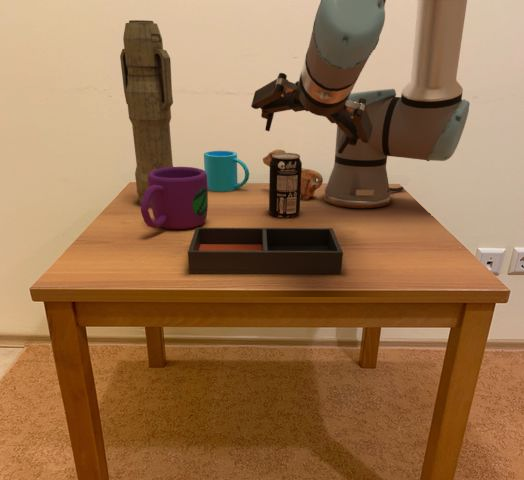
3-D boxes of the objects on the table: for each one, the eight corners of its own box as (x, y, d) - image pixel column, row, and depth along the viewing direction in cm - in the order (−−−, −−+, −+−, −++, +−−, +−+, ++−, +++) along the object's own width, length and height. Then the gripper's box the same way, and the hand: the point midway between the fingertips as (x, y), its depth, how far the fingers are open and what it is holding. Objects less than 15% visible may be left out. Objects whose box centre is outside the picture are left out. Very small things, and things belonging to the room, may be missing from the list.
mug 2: (199, 189, 128) (197, 154, 124) (216, 182, 134) (215, 149, 130) (241, 194, 124) (240, 159, 119) (256, 187, 130) (256, 154, 126)
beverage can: (281, 208, 114) (283, 151, 108) (305, 213, 110) (308, 155, 104) (262, 214, 109) (263, 155, 103) (287, 220, 106) (289, 159, 100)
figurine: (270, 187, 130) (271, 146, 125) (328, 196, 123) (331, 152, 118) (256, 193, 125) (256, 150, 120) (315, 203, 118) (318, 157, 113)
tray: (196, 247, 91) (195, 227, 90) (330, 247, 92) (332, 228, 90) (189, 273, 81) (187, 251, 79) (341, 274, 81) (343, 252, 79)
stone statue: (169, 210, 111) (154, 19, 94) (125, 203, 115) (102, 20, 98) (190, 200, 118) (179, 21, 101) (148, 195, 122) (130, 22, 105)
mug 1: (173, 212, 110) (169, 164, 105) (219, 219, 106) (217, 169, 101) (121, 235, 97) (113, 181, 91) (171, 244, 92) (166, 188, 87)
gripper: (233, 77, 70) (233, 134, 91) (404, 131, 72) (365, 175, 93) (248, 23, 70) (244, 93, 91) (419, 79, 71) (376, 134, 92)
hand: (305, 134), depth 92 cm, fingers open, 13 cm apart
